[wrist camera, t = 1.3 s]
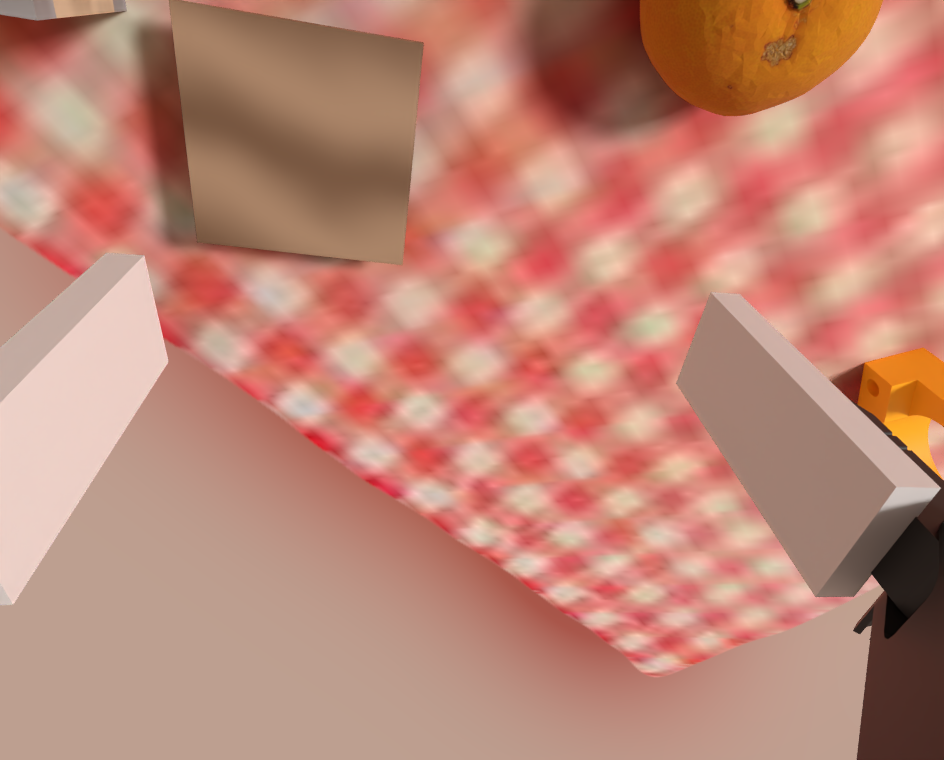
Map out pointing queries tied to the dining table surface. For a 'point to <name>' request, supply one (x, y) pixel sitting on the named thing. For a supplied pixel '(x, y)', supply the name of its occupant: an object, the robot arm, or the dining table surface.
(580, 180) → the dining table surface
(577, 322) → the dining table surface
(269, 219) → the stand
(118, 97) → the dining table surface
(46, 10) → the housing
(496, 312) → the dining table surface
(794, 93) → the fruit
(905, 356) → the pipe clamp
